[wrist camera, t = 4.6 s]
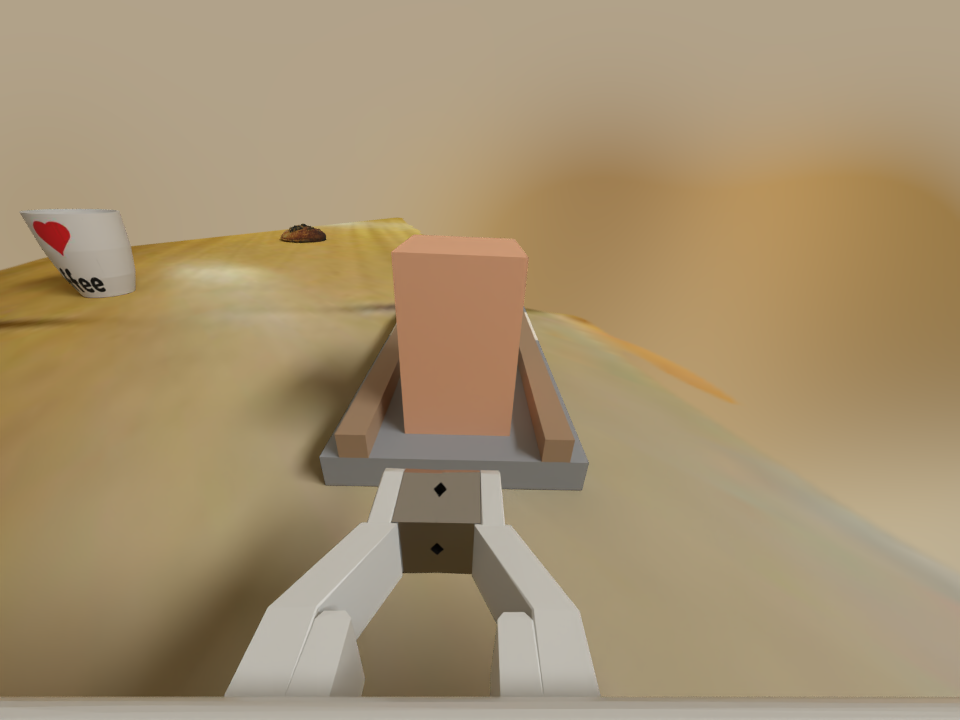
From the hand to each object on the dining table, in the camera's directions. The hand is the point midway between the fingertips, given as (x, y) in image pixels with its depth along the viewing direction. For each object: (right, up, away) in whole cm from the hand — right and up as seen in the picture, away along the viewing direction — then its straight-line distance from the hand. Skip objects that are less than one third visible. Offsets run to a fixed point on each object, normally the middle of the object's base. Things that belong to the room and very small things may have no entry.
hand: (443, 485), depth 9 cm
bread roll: (-47, +36, +83) cm, 101 cm away
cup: (-49, +12, +36) cm, 62 cm away
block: (0, 0, +13) cm, 13 cm away
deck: (-1, +3, +23) cm, 23 cm away
